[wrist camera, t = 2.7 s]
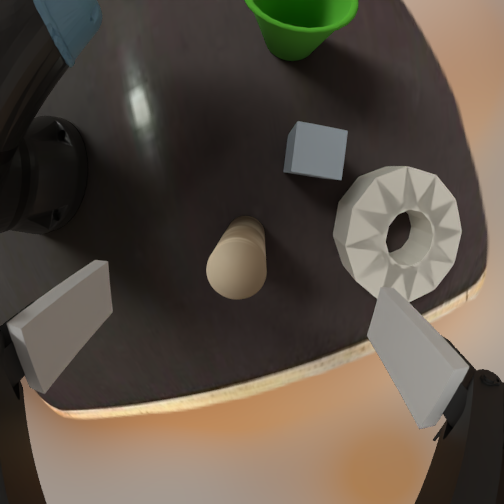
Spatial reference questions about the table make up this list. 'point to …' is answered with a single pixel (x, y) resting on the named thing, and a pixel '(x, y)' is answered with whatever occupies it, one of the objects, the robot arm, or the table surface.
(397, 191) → the socket
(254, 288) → the dowel
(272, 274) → the table surface
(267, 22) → the cup
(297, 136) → the square peg
